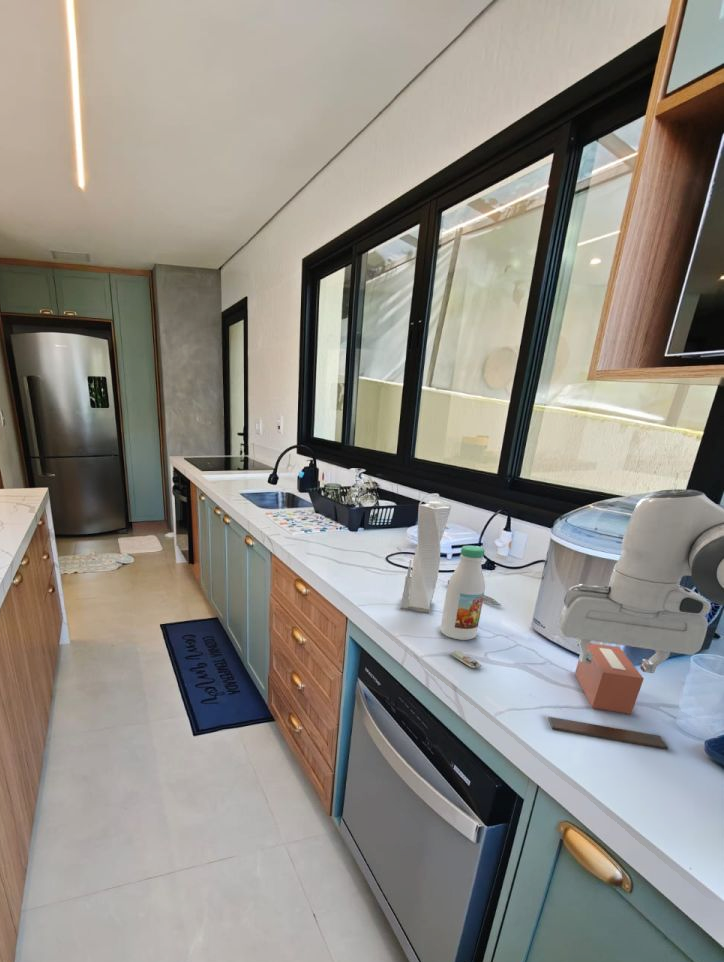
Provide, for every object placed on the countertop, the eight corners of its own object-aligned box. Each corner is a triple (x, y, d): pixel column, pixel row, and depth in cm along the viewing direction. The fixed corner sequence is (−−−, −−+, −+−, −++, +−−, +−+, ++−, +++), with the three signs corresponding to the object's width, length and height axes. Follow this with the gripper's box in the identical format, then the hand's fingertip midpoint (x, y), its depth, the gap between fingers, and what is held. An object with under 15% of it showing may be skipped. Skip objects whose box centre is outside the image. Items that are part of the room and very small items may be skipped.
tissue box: (609, 679, 96) (619, 646, 93) (631, 714, 85) (644, 677, 83) (574, 674, 97) (583, 641, 95) (591, 707, 87) (603, 671, 84)
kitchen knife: (446, 586, 143) (447, 579, 142) (449, 585, 143) (450, 579, 142) (499, 609, 128) (501, 601, 127) (502, 608, 128) (503, 601, 127)
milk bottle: (438, 636, 111) (452, 549, 104) (441, 623, 118) (455, 541, 111) (475, 643, 109) (492, 554, 101) (476, 629, 115) (492, 545, 108)
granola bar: (448, 655, 103) (449, 650, 103) (456, 653, 104) (457, 648, 104) (473, 670, 98) (474, 665, 97) (481, 667, 98) (482, 663, 98)
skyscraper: (403, 597, 133) (418, 491, 123) (435, 602, 131) (453, 494, 120) (400, 609, 126) (415, 496, 115) (433, 614, 123) (452, 500, 113)
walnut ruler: (659, 737, 79) (660, 735, 79) (667, 749, 77) (668, 747, 76) (548, 718, 83) (548, 716, 83) (552, 728, 81) (552, 726, 81)
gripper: (574, 588, 81) (552, 664, 86) (724, 607, 76) (692, 686, 81) (564, 576, 86) (545, 648, 91) (704, 593, 81) (675, 667, 86)
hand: (615, 666), depth 86 cm, fingers open, 8 cm apart
